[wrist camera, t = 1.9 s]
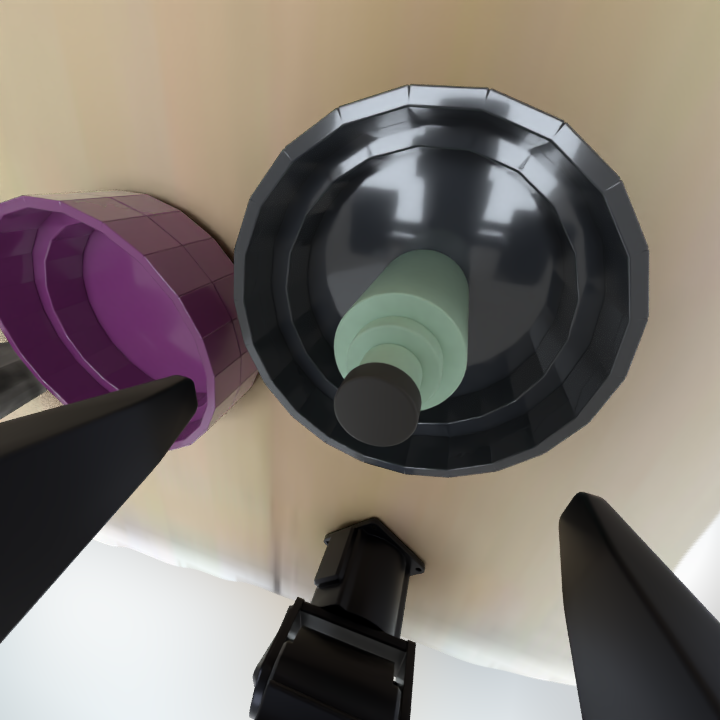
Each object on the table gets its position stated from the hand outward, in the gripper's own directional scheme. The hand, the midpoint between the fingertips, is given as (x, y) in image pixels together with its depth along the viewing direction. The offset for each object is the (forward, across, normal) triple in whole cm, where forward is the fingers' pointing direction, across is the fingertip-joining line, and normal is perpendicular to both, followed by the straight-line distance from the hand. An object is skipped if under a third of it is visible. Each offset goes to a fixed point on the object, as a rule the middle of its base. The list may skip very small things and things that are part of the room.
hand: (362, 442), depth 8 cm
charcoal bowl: (+11, 0, 0) cm, 11 cm away
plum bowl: (+11, +16, +5) cm, 20 cm away
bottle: (+10, 0, 0) cm, 10 cm away
